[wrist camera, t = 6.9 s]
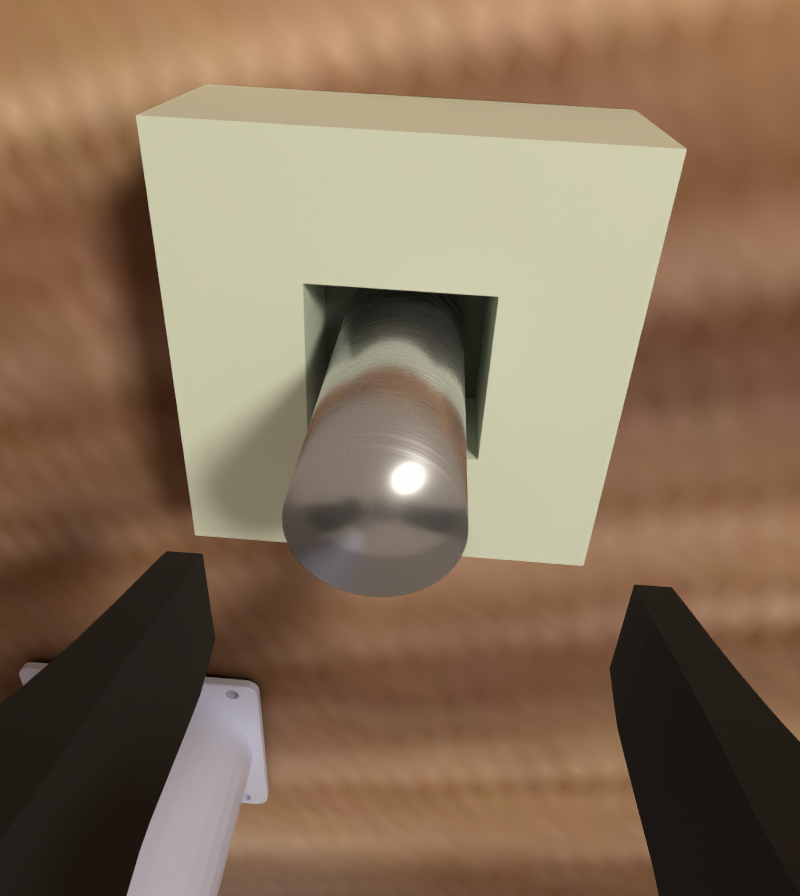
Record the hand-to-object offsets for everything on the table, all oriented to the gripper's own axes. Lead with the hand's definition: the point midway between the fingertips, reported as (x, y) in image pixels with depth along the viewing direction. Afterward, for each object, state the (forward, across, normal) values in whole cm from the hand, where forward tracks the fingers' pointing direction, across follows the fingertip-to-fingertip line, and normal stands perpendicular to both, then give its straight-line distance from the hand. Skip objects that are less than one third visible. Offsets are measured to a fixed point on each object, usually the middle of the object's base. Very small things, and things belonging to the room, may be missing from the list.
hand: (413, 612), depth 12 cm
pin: (+8, +1, -2) cm, 8 cm away
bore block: (+10, +1, -2) cm, 10 cm away
